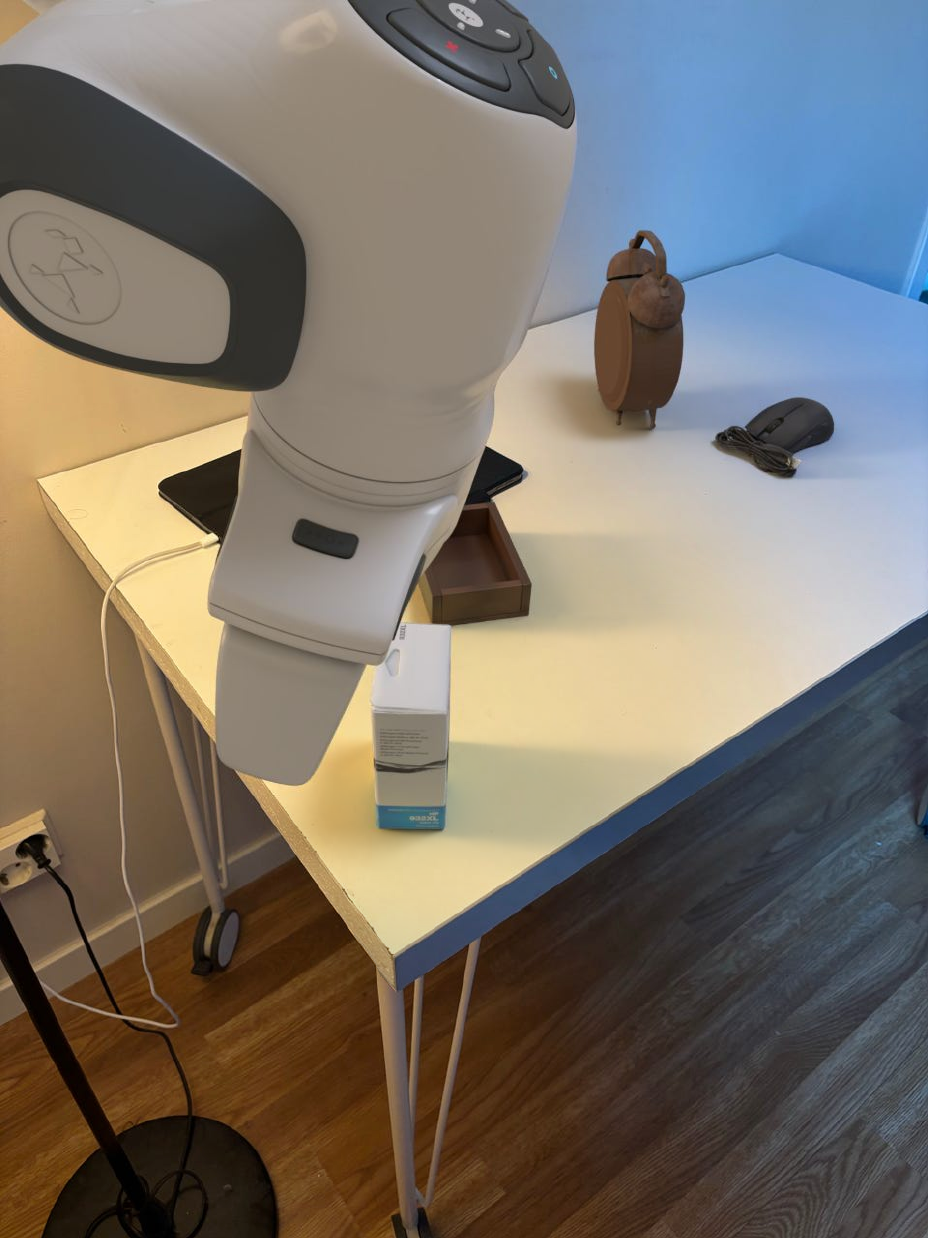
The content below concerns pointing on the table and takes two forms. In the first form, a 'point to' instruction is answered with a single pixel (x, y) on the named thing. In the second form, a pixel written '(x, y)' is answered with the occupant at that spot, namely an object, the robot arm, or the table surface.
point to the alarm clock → (639, 330)
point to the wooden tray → (476, 572)
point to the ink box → (412, 728)
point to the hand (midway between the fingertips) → (313, 659)
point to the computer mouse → (781, 433)
